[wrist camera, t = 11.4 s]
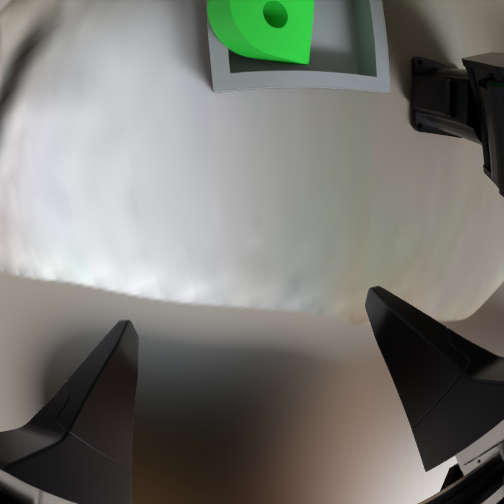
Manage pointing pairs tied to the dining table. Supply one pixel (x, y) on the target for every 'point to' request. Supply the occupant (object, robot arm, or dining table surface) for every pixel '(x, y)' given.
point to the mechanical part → (264, 28)
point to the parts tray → (317, 54)
